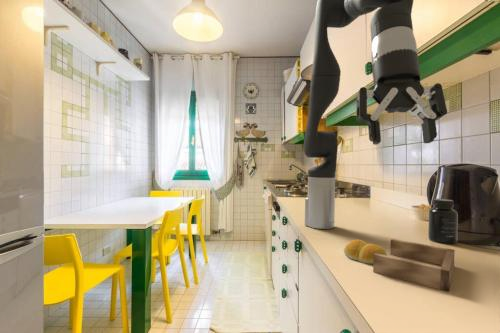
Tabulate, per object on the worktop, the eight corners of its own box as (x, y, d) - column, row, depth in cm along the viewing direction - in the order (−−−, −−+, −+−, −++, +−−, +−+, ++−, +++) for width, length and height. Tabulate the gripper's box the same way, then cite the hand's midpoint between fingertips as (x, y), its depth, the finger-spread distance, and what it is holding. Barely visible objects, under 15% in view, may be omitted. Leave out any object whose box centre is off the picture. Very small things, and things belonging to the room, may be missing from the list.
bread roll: (377, 268, 55) (378, 249, 55) (339, 257, 62) (339, 240, 62) (393, 259, 61) (393, 242, 61) (356, 250, 67) (356, 234, 67)
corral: (373, 271, 53) (373, 254, 53) (391, 253, 65) (391, 238, 65) (448, 291, 45) (449, 271, 45) (454, 266, 57) (454, 249, 57)
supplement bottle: (423, 237, 80) (424, 197, 80) (447, 238, 79) (448, 198, 79) (437, 244, 73) (437, 200, 73) (463, 245, 72) (464, 201, 72)
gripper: (425, 69, 52) (435, 148, 49) (350, 73, 54) (354, 149, 51) (447, 44, 45) (461, 134, 41) (359, 50, 47) (365, 137, 43)
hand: (402, 142), depth 46 cm, fingers open, 8 cm apart
